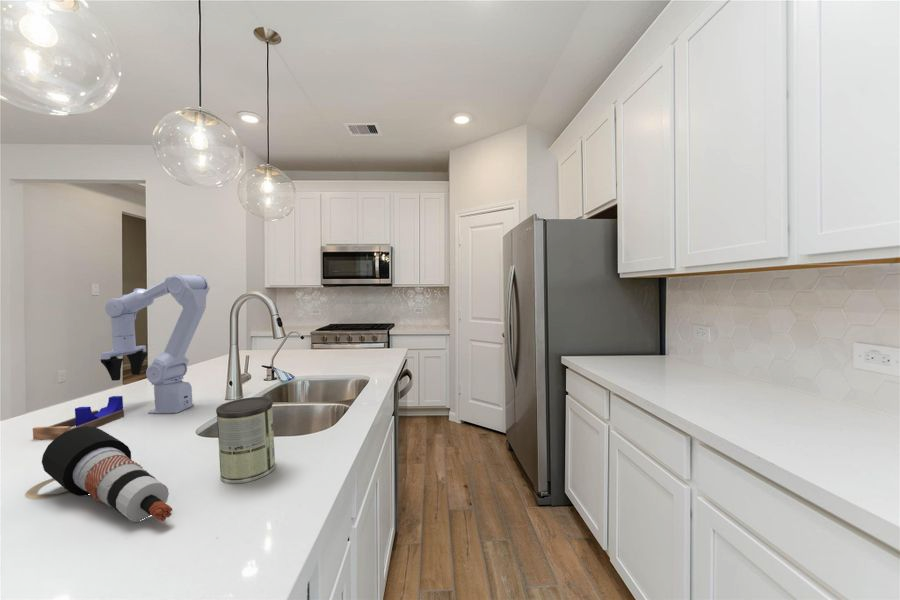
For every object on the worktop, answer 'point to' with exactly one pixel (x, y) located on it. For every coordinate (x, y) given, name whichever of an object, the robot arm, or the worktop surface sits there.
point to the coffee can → (245, 439)
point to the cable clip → (86, 414)
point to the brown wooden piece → (62, 427)
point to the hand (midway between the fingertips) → (126, 377)
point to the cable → (105, 473)
